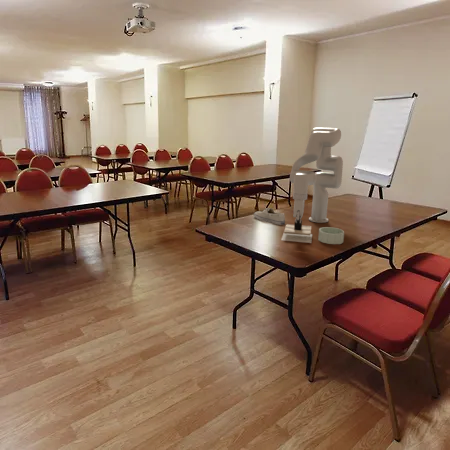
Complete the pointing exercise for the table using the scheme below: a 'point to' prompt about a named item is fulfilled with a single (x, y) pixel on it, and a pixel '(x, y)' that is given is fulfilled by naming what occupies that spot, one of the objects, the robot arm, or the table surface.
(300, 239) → the mat
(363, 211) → the table surface
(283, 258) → the table surface
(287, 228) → the lid
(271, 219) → the boat shoe
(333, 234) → the bowl
